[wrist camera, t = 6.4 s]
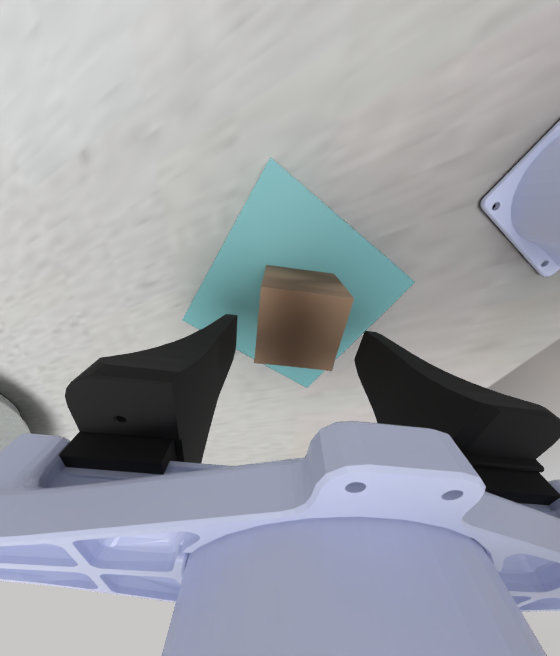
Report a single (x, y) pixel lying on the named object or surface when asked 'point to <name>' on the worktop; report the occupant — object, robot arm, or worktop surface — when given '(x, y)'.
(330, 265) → the teal box
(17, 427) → the cereal bowl
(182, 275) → the worktop surface
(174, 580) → the robot arm
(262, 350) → the walnut cube
